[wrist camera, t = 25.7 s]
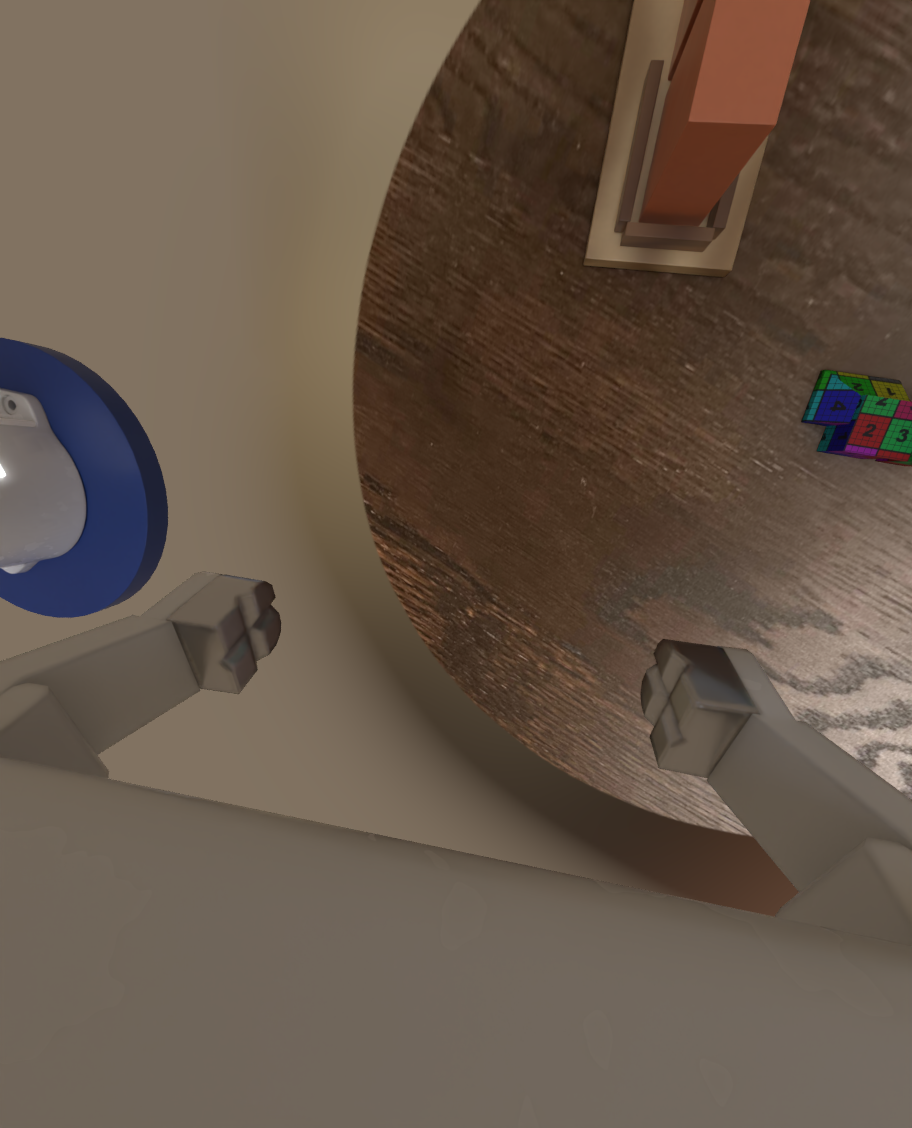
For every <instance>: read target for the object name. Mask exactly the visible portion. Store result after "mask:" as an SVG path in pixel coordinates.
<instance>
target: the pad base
mask: <svg viewBox="0 0 912 1128" xmlns="http://www.w3.org/2000/svg"><path fill="white" fill-rule="evenodd" d="M702 2H703V0H633V4H632V9H631V14H630V19H629V25H628V30H627V35H626V41H625V46H624V51H623V57H622V62H621V67H620V72H619V78H618V83H617V88H616V94H615V99H614V104H613V109H612V115H611V120H610V125H609V131H608V136H607V141H606V147H605V152H604V157H603V162H602V168H601V173H600V178H599V184H598V189H597V194H596V200H595V205H594V210H593V215H592V221H591V226H590V231H589V237H588V242H587V247H586V252H585V258H584V263H583V265H585V266H597V267H609V268H621V269H633V270H645V271H657V272H668V273H680V274H692V275H704V276H716V277H725V276H726V275H727V274H728V273H729V272H730V271H731V270H732V267H733V264H734V260H735V257H736V253H737V249H738V246H739V242H740V238H741V235H742V231H743V227H744V224H745V220H746V217H747V213H748V209H749V206H750V202H751V198H752V195H753V191H754V187H755V184H756V180H757V176H758V173H759V169H760V166H761V162H762V158H763V155H764V151H765V147H766V144H767V140H768V136H769V134H768V136H767V137H766V138H765V140H764V141H763V142H762V144H761V145H760V146H759V148H758V149H757V150H756V152H755V153H754V154H753V156H752V157H751V158H750V159H749V161H748V162H747V163H746V165H745V166H744V167H743V169H742V170H741V171H740V173H739V174H738V175H737V177H736V178H735V179H734V181H733V182H732V183H731V184H730V186H729V187H728V188H727V190H726V191H725V192H724V194H723V195H722V196H721V198H720V199H719V200H718V202H717V203H716V204H715V206H714V207H713V208H712V210H711V211H710V212H709V213H708V215H707V216H706V217H705V219H704V220H703V221H702V223H701V224H700V225H699V226H698V227H697V226H683V225H669V224H654V223H640V222H639V218H640V213H641V208H642V204H643V199H644V194H645V190H646V185H647V180H648V176H649V171H650V166H651V162H652V157H653V152H654V148H655V143H656V139H657V134H658V129H659V125H660V120H661V115H662V111H663V106H664V101H665V97H666V94H667V91H668V89H669V86H670V84H671V81H672V79H673V76H674V73H675V71H676V68H677V66H678V63H679V61H680V58H681V56H682V53H683V51H684V48H685V46H686V43H687V41H688V38H689V35H690V33H691V30H692V28H693V25H694V23H695V20H696V18H697V15H698V13H699V10H700V8H701V5H702Z"/></svg>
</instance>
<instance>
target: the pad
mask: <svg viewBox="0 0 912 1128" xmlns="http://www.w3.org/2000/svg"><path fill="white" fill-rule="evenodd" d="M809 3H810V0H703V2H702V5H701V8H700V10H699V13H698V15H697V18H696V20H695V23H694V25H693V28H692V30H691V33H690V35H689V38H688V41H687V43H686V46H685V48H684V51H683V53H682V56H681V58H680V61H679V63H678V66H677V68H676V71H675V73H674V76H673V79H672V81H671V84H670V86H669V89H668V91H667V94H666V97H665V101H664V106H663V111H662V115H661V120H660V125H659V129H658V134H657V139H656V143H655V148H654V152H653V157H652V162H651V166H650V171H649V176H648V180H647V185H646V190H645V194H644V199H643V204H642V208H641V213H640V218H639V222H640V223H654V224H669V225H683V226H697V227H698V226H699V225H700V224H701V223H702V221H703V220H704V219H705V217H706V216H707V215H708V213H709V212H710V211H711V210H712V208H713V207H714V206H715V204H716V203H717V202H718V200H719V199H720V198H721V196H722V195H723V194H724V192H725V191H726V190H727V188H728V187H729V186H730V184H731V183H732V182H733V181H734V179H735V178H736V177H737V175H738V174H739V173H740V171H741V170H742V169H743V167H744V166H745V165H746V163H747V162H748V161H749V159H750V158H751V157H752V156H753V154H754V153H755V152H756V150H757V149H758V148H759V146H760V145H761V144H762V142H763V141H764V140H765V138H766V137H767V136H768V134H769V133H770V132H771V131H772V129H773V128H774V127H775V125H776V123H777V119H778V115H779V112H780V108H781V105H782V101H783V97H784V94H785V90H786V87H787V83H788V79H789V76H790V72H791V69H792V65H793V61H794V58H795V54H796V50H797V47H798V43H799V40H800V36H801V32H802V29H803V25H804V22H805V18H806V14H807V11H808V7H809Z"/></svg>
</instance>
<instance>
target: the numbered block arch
mask: <svg viewBox="0 0 912 1128" xmlns="http://www.w3.org/2000/svg"><path fill="white" fill-rule="evenodd" d="M802 422H804V423H810V424H816V425H823V426H827V427H826V429H825V432H824V434H823V437H822V439H821V442H820V444H819V447H818V449H817V451H818V452H824V453H830V454H836V455H842V456H848V457H854V458H860V459H876V461H878V462H884V463H890V464H896V465H902V466H912V402H911V401H910V400H909V398H908V396H907V394H906V392H905V390H904V388H903V386H902V384H901V382H900V381H899V380H892V379H885V378H878V377H871V376H865V375H858V374H851V373H844V372H837V371H830V370H823V371H821V373H820V375H819V378H818V380H817V383H816V386H815V388H814V391H813V393H812V396H811V398H810V401H809V404H808V406H807V409H806V411H805V414H804V417H803V419H802Z"/></svg>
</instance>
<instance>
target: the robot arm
mask: <svg viewBox="0 0 912 1128" xmlns="http://www.w3.org/2000/svg"><path fill="white" fill-rule="evenodd" d="M85 520H86V497H85V491H84V487H83V483H82V480H81V477H80V475H79V472H78V470H77V468H76V465H75V463H74V462H73V460H72V458H71V456H70V455H69V453H68V452H67V450H66V449H65V448H64V446H63V445H62V444H61V442H60V441H59V440H58V438H57V437H56V436H55V434H54V433H53V431H52V429H51V427H50V424H49V421H48V419H47V416H46V413H45V411H44V409H43V407H42V405H41V403H40V402H39V400H38V399H37V398H36V397H34V396H33V395H30V394H26V393H21V392H17V391H12V390H8V389H3V388H0V568H2V569H3V570H5V571H6V572H8V573H10V574H17V573H24V572H27V571H29V570H30V569H31V568H32V567H33V566H35V565H36V564H37V563H38V562H39V561H41V560H45V559H51V558H55V557H59V556H61V555H63V554H65V553H66V552H68V551H69V550H70V549H72V548H73V547H74V545H75V544H76V543H77V541H78V540H79V538H80V536H81V534H82V532H83V529H84V525H85ZM274 599H275V594H274V590H273V587H272V585H271V584H269V583H268V582H266V581H260V580H254V579H249V578H243V577H237V576H230V575H222V574H217V573H210V572H198V573H195V574H194V575H192V576H191V577H190V578H189V579H187V580H186V581H185V582H183V583H182V584H181V585H179V586H178V587H177V588H176V589H174V590H173V591H172V592H170V593H169V594H168V595H166V596H165V597H164V598H163V599H161V600H160V601H159V602H157V603H156V604H155V605H154V606H152V607H151V608H150V609H148V610H147V611H146V612H145V613H143V614H142V615H141V616H135V615H132V616H129V617H126V618H123V619H120V620H118V621H115V622H112V623H109V624H106V625H103V626H101V627H97V628H95V629H92V630H89V631H86V632H83V633H80V634H77V635H74V636H72V637H69V638H66V639H63V640H60V641H57V642H54V643H51V644H49V645H46V646H43V647H40V648H37V649H35V650H31V651H29V652H26V653H23V654H20V655H17V656H14V657H12V658H9V659H6V660H3V661H0V1128H912V800H911V799H910V798H908V797H907V796H906V795H904V794H903V793H902V792H900V791H899V790H897V789H896V788H895V787H893V786H892V785H891V784H889V783H888V782H886V781H885V780H884V779H882V778H881V777H880V776H878V775H877V774H876V773H874V772H873V771H871V770H870V769H869V768H867V767H866V766H865V765H863V764H862V763H861V762H859V761H858V760H856V759H855V758H854V757H852V756H851V755H850V754H848V753H847V752H845V751H844V750H843V749H841V748H840V747H839V746H837V745H836V744H835V743H833V742H832V741H830V740H829V739H828V738H826V737H825V736H824V735H822V734H821V733H819V732H818V731H817V730H815V729H814V728H813V727H811V726H810V725H809V724H807V723H806V722H801V721H796V720H795V719H794V717H793V716H792V714H791V712H790V711H789V709H788V708H787V706H786V705H785V703H784V702H783V700H782V698H781V697H780V695H779V694H778V692H777V691H776V689H775V687H774V686H773V684H772V683H771V681H770V680H769V678H768V677H767V675H766V673H765V672H764V670H763V669H762V667H761V666H760V664H759V662H758V661H757V659H756V658H755V656H754V655H753V654H752V653H751V652H749V651H748V650H747V649H740V648H732V647H724V646H717V647H716V646H711V645H703V644H696V643H689V642H682V641H675V640H667V639H662V640H661V641H660V642H659V643H658V645H657V647H656V649H655V652H654V656H655V659H656V662H657V664H655V665H653V666H652V667H650V668H648V669H647V670H646V673H645V675H644V678H643V680H642V686H641V705H642V709H643V713H644V717H645V718H646V719H647V720H648V721H649V722H650V723H651V724H652V725H653V726H654V728H653V730H652V732H651V734H650V739H651V743H652V747H653V750H654V754H655V757H656V761H657V764H658V768H660V769H665V770H669V771H674V772H679V773H684V774H689V775H694V776H699V777H704V778H708V779H707V782H708V783H709V784H710V785H711V786H712V788H713V789H714V790H715V791H716V792H717V794H718V795H719V796H720V797H721V798H722V800H723V801H724V802H725V803H726V804H727V806H728V807H729V808H730V809H731V810H732V812H733V813H734V814H735V815H736V817H737V818H738V819H739V820H740V821H741V823H742V824H743V825H744V826H745V827H746V829H747V830H748V831H749V832H750V833H751V835H752V836H753V837H754V838H755V839H756V841H757V842H758V843H759V844H760V845H761V847H762V848H763V849H764V850H765V852H766V853H767V854H768V855H769V856H770V858H771V859H772V860H773V861H774V862H775V864H776V865H777V866H778V867H779V868H780V870H781V871H782V872H783V873H784V874H785V876H786V877H787V878H788V879H789V880H790V882H791V883H792V884H793V885H794V887H795V888H796V889H797V890H798V891H799V893H798V894H797V895H796V896H795V897H793V898H792V899H791V900H790V901H788V902H787V903H786V904H785V905H784V906H783V907H781V908H780V909H779V911H778V912H777V914H776V915H775V917H773V916H768V915H763V914H758V913H753V912H749V911H743V910H739V909H734V908H729V907H724V906H720V905H715V904H710V903H705V902H700V901H695V900H691V899H686V898H681V897H676V896H671V895H666V894H661V893H657V892H651V891H647V890H642V889H637V888H633V887H628V886H623V885H618V884H613V883H609V882H604V881H599V880H594V879H589V878H585V877H580V876H575V875H570V874H565V873H560V872H556V871H551V870H546V869H541V868H537V867H532V866H527V865H522V864H517V863H513V862H508V861H503V860H498V859H493V858H489V857H484V856H479V855H474V854H469V853H464V852H460V851H455V850H450V849H445V848H440V847H435V846H431V845H426V844H421V843H417V842H412V841H407V840H402V839H397V838H392V837H387V836H383V835H378V834H373V833H368V832H363V831H358V830H353V829H349V828H344V827H339V826H334V825H329V824H324V823H320V822H314V821H310V820H305V819H300V818H295V817H290V816H285V815H281V814H276V813H271V812H266V811H261V810H257V809H252V808H247V807H242V806H237V805H232V804H228V803H223V802H218V801H213V800H209V799H204V798H199V797H194V796H189V795H184V794H180V793H175V792H170V791H164V790H160V789H155V788H151V787H145V786H140V785H136V784H131V783H126V782H121V781H117V780H111V779H108V774H109V771H108V769H107V768H106V766H105V765H104V764H103V762H102V761H101V759H100V758H99V757H98V754H100V753H101V752H103V751H104V750H106V749H107V748H109V747H111V746H112V745H114V744H116V743H117V742H119V741H120V740H122V739H124V738H125V737H127V736H128V735H130V734H132V733H133V732H135V731H136V730H138V729H139V728H141V727H143V726H144V725H146V724H147V723H149V722H151V721H152V720H154V719H155V718H157V717H159V716H160V715H162V714H164V713H165V712H167V711H168V710H170V709H172V708H173V707H175V706H176V705H178V704H180V703H181V702H183V701H184V700H186V699H188V698H189V697H191V696H192V695H194V694H196V693H197V692H199V691H200V689H207V690H213V691H220V692H227V693H234V694H239V693H240V692H241V691H242V690H243V688H244V687H245V686H246V684H247V683H248V682H249V680H250V679H251V678H252V677H253V675H254V674H255V673H256V671H257V661H258V660H260V659H262V658H264V657H266V656H268V655H269V654H270V653H271V651H272V650H273V649H274V647H275V646H276V644H277V641H278V639H279V636H280V632H281V620H280V615H279V613H278V612H277V611H276V610H275V609H274V608H273V606H272V605H271V603H272V602H273V600H274ZM199 688H200V689H199Z"/></svg>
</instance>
